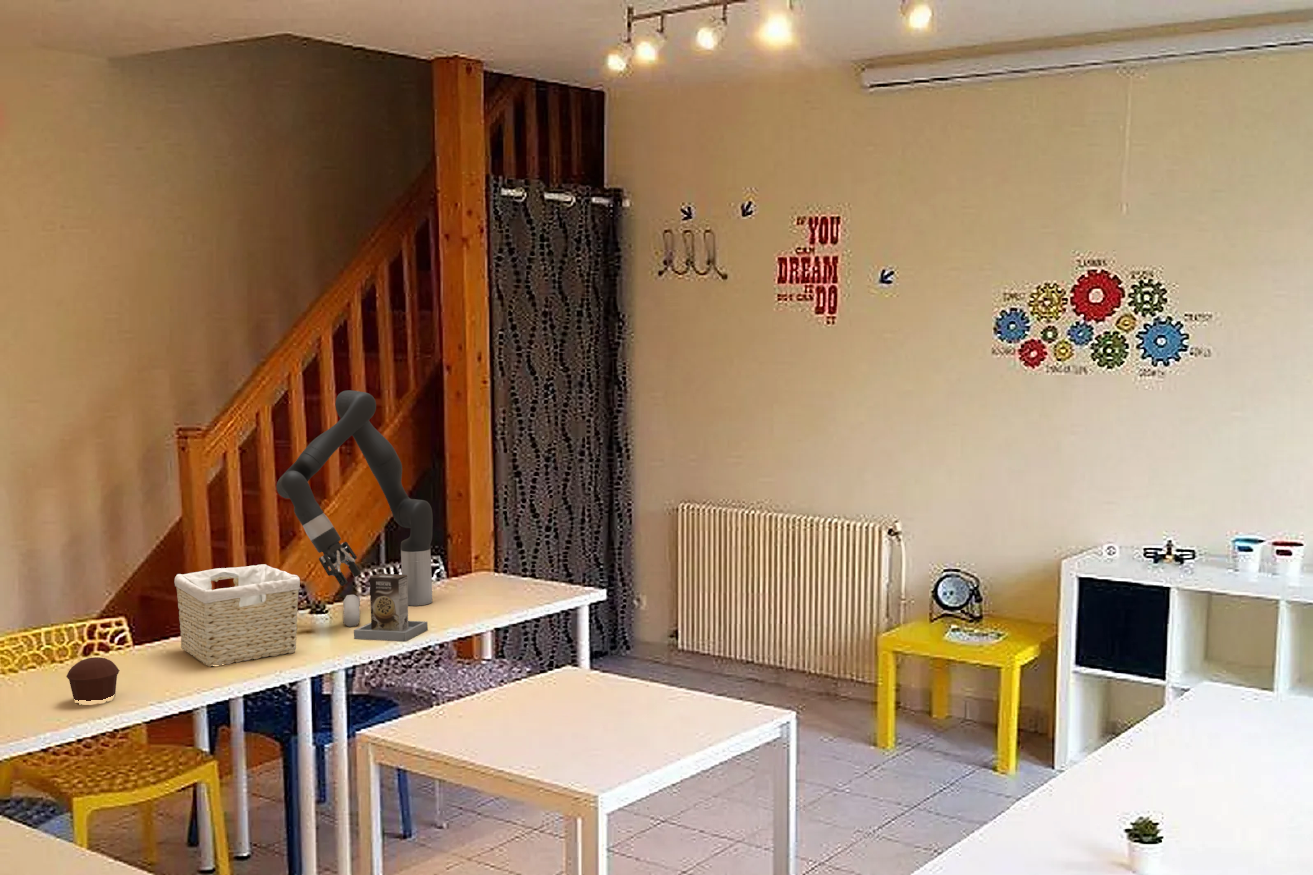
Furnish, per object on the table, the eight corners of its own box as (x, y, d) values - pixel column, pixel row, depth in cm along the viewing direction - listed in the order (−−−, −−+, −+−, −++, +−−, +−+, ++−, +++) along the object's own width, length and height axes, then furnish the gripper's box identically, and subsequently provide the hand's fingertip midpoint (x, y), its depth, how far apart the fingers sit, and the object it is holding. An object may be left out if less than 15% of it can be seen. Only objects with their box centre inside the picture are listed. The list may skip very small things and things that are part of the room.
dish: (377, 627, 384) (377, 619, 384) (427, 630, 380) (427, 621, 380) (354, 638, 371) (353, 630, 371) (405, 641, 367) (405, 632, 366)
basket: (306, 653, 356) (303, 574, 354) (207, 670, 340) (203, 587, 338) (270, 636, 377) (266, 561, 375) (175, 651, 361) (171, 573, 359)
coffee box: (370, 633, 373) (368, 577, 372) (380, 627, 380) (378, 572, 378) (399, 634, 371) (397, 578, 370) (409, 629, 377) (407, 573, 376)
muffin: (109, 690, 322) (106, 650, 321) (129, 699, 314) (126, 658, 313) (59, 701, 313) (57, 660, 312) (79, 710, 305) (76, 668, 304)
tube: (363, 614, 386) (362, 596, 410) (345, 609, 385) (345, 592, 409) (357, 631, 386) (357, 613, 410) (339, 627, 385) (340, 608, 409)
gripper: (319, 533, 372) (350, 582, 373) (342, 520, 386) (372, 566, 387) (300, 545, 375) (330, 593, 376) (323, 531, 388) (352, 578, 389)
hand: (351, 580), depth 381 cm, fingers open, 8 cm apart
